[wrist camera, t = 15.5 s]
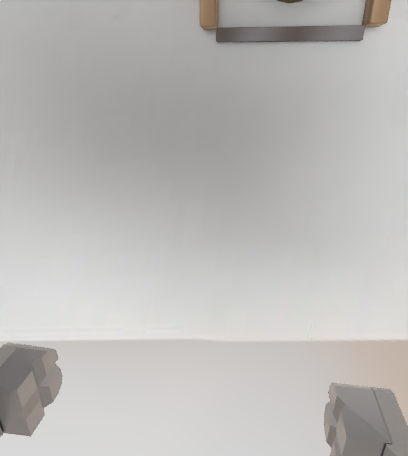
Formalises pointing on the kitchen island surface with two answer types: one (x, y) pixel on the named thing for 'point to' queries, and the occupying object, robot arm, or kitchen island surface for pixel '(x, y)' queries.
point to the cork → (289, 1)
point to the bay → (373, 17)
